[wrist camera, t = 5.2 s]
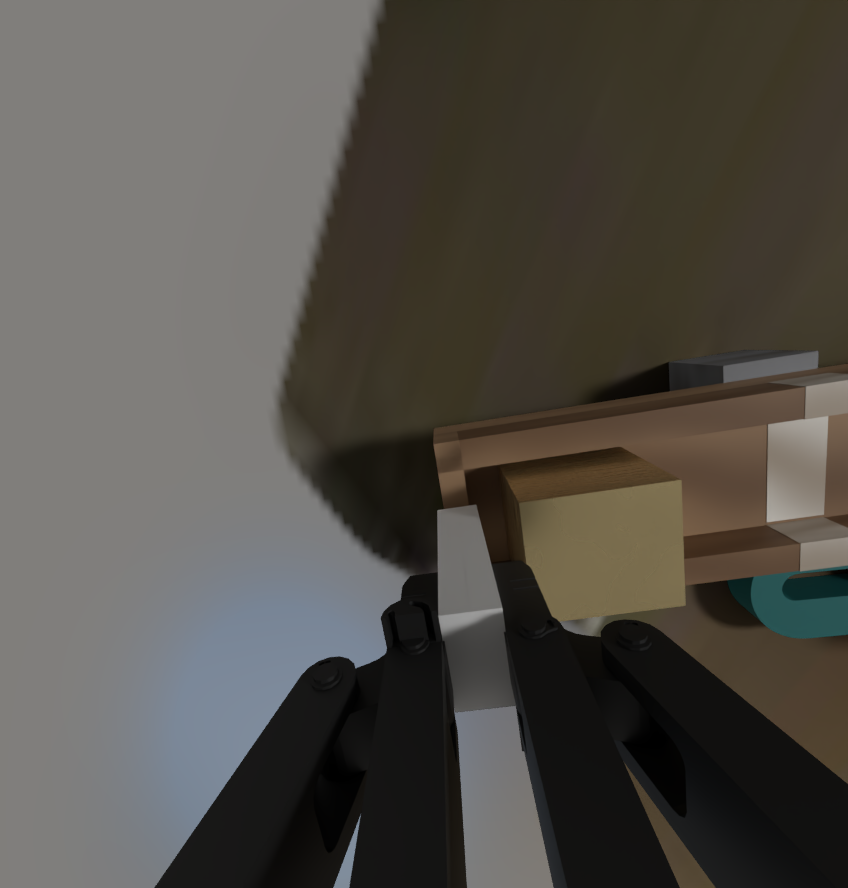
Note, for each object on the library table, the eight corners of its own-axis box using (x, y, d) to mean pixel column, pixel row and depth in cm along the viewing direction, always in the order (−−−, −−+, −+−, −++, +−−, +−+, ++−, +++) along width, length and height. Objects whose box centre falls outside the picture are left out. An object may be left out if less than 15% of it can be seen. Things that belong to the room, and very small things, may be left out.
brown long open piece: (432, 400, 24) (430, 425, 16) (1004, 308, 22) (1304, 288, 14) (455, 546, 26) (463, 629, 18) (983, 473, 24) (1238, 532, 16)
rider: (496, 461, 18) (518, 503, 13) (614, 443, 18) (681, 479, 13) (508, 554, 19) (533, 624, 14) (621, 538, 19) (685, 605, 14)
